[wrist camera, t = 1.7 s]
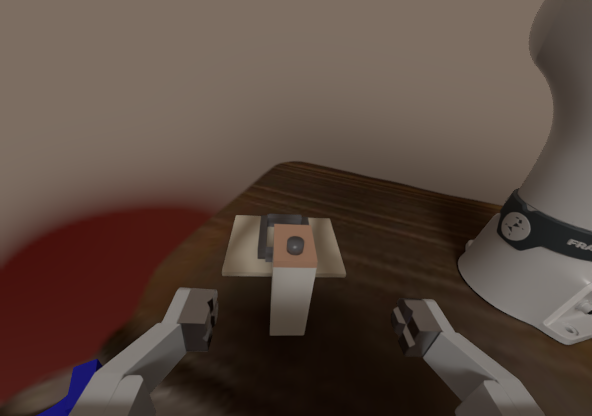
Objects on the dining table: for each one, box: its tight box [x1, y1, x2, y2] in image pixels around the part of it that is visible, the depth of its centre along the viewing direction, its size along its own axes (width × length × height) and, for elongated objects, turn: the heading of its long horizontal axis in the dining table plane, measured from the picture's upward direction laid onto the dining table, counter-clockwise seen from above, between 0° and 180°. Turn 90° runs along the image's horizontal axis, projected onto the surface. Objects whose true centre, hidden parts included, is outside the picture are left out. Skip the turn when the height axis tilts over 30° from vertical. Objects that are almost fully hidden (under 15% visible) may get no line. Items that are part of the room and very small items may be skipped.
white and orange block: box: [270, 224, 318, 336], centre depth 27 cm, size 4×6×13 cm
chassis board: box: [222, 214, 346, 277], centre depth 41 cm, size 18×14×3 cm
